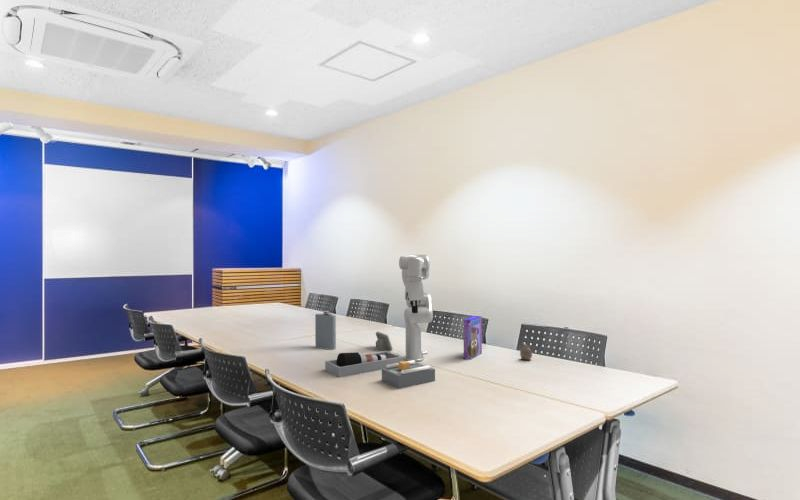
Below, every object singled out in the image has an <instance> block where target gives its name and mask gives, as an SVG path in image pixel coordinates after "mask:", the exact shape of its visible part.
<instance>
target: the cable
mask: <svg viewBox="0 0 800 500" xmlns="http://www.w3.org/2000/svg"><path fill="white" fill-rule="evenodd" d="M370 354H371V353H368V355H367V354H360V353H359V352H356V351H355V352H339V354H337V357H336V359H337V366H339V367H343V366H348V365H354V364H360V363H366V362H372V361H378V360H384V359H390V358H386V356H385V355H370Z"/></svg>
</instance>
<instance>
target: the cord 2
mask: <svg viewBox="0 0 800 500" xmlns="http://www.w3.org/2000/svg"><path fill="white" fill-rule="evenodd" d="M430 368H432V366H431V365H429V364H427V365H425V366H422V367H417V368H412V369H407V370H402V371H401V374H402V375H403V374H408V373H413V372H418V371H423V370H428V369H430Z"/></svg>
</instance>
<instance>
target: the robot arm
mask: <svg viewBox="0 0 800 500" xmlns="http://www.w3.org/2000/svg"><path fill="white" fill-rule="evenodd" d="M430 262H431V261H430V258H429V256H428V255H427V254H410V255H403V256H400V257H399V259H398V265H399V269H400V270H401V279H402V283H403V286H404V287H405V288H404V289H405V290H404V300H405V301H406V306H407V308H405V309H404V310H403V317H404V323H405V324H404V325H405V326H404V327H405V355H404V356H402V357H403V361H411V360H415V362H422V361H423V360H424V359H425V357H424V356H425V355H428V354H429V353H428V351H427V350H425V351H422V330H421V327H420V326H419V325H418V324H430V323H432V321H433V320H434V312H433V300H432V296H431V294H430V293H428V292H424V291H425V290H424V284H423V280H428V278H429V277H430V265H431V264H430Z"/></svg>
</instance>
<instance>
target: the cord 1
mask: <svg viewBox="0 0 800 500" xmlns="http://www.w3.org/2000/svg"><path fill="white" fill-rule="evenodd" d="M407 362H410V365H411V364H415V363H416V361H415V360H411V361H407ZM395 367H399V363H394V364H389V365H387V366H386V368H388V369H389V368H395Z"/></svg>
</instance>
